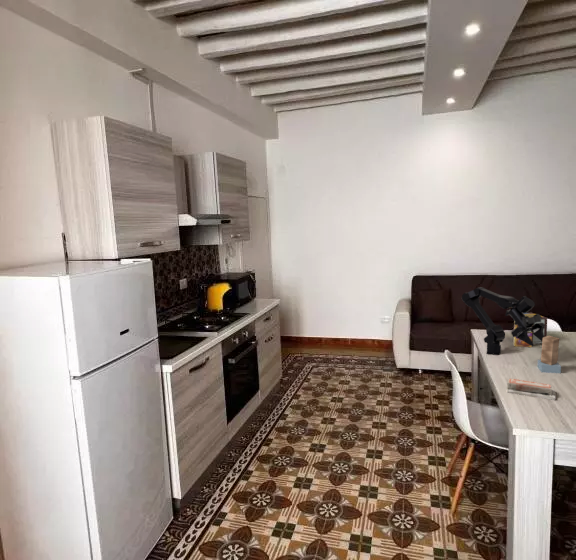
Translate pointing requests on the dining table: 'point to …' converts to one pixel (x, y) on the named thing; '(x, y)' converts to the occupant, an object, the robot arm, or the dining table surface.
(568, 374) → the dining table surface
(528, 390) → the packaged product
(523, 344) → the candy box
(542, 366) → the slate base block
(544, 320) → the protein box
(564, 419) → the dining table surface
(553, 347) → the walnut block
